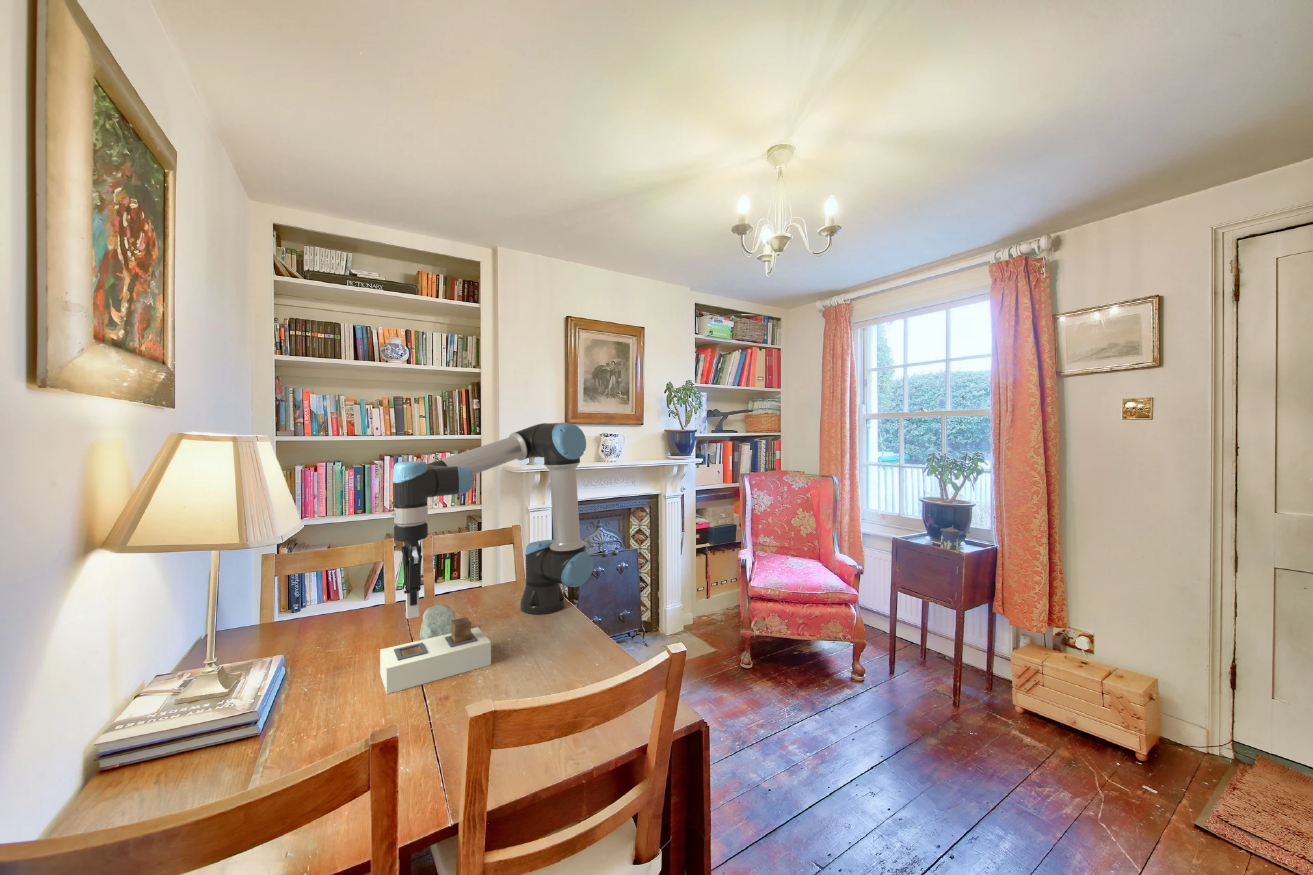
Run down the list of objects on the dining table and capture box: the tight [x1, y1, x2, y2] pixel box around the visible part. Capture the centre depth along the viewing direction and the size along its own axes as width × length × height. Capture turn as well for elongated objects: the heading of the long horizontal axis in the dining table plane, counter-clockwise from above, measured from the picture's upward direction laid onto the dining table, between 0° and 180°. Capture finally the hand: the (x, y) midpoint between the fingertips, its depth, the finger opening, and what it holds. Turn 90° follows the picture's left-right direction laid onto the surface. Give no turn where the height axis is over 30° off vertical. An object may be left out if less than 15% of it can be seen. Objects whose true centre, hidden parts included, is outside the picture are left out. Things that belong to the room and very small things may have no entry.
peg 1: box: [401, 647, 421, 656], centre depth 118 cm, size 4×4×6 cm
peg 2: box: [451, 617, 472, 644], centre depth 125 cm, size 4×4×6 cm
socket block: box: [379, 626, 492, 695], centre depth 122 cm, size 24×12×6 cm, turn 127°
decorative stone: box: [419, 603, 456, 640], centre depth 139 cm, size 13×11×10 cm
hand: (412, 616), depth 119 cm, fingers closed
